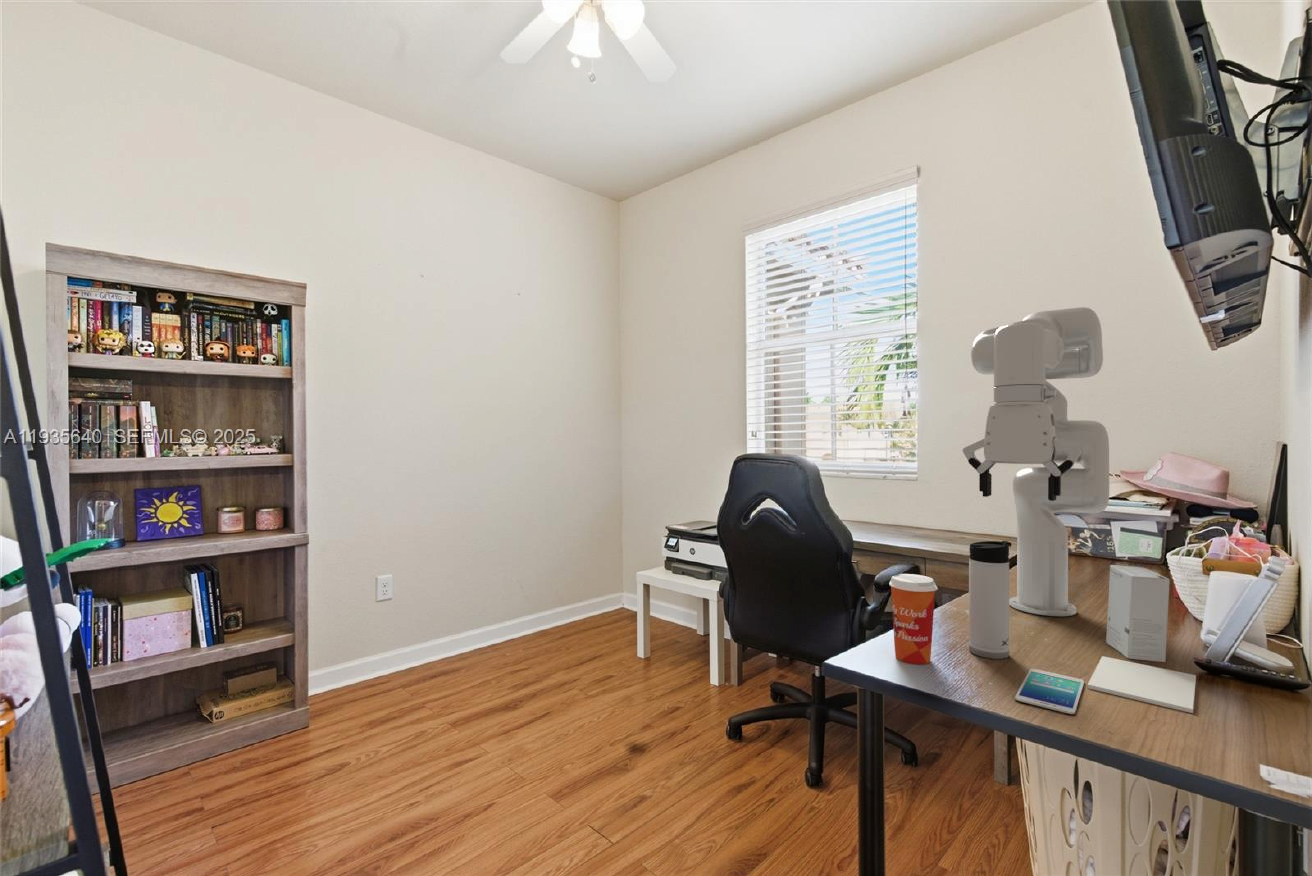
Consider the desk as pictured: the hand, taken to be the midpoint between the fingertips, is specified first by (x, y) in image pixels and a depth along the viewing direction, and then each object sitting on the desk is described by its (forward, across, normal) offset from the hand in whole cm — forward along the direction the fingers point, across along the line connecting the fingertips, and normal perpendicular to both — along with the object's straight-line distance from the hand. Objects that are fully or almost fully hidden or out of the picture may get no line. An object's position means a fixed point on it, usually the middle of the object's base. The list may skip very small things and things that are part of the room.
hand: (1018, 498), depth 101 cm
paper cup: (+28, +14, +9) cm, 33 cm away
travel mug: (+28, +5, -2) cm, 29 cm away
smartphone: (+29, -6, +9) cm, 31 cm away
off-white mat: (+28, -16, -4) cm, 33 cm away
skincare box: (+28, -15, -20) cm, 37 cm away
